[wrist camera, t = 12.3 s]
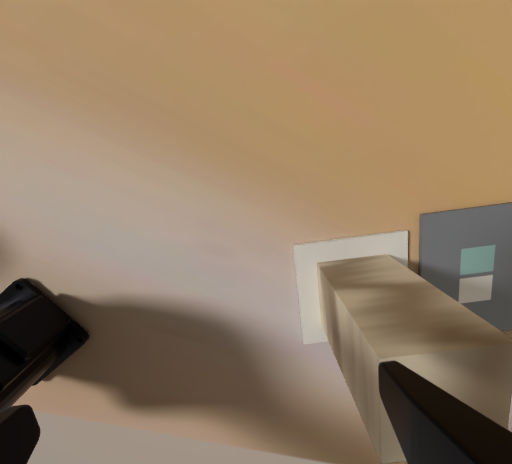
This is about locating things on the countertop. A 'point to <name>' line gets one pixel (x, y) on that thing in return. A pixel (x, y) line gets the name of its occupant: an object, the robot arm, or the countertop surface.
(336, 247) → the pad
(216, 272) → the countertop surface
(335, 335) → the birch block
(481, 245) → the gray tile
